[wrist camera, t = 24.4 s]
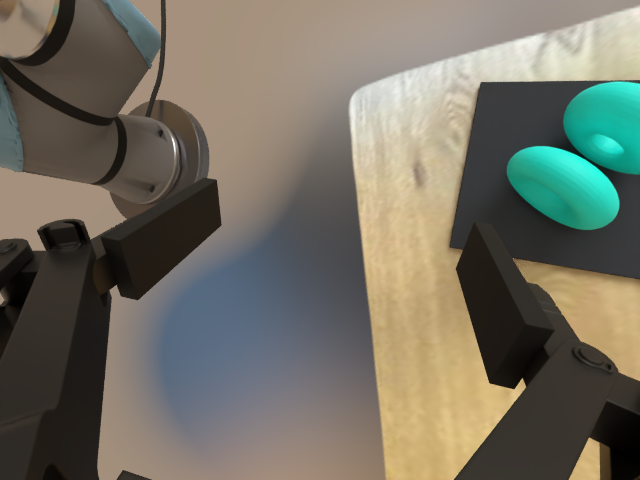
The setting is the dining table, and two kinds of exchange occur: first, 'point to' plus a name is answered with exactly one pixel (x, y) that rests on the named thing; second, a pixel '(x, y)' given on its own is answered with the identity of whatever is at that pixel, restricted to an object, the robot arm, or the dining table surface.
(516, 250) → the placemat
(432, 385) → the dining table surface
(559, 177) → the donuts
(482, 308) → the robot arm
